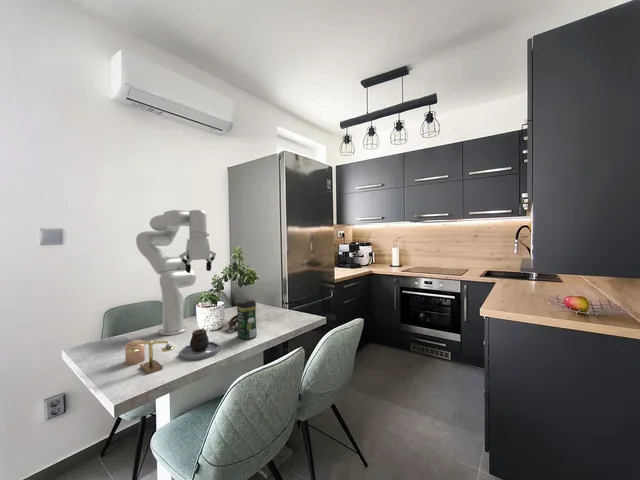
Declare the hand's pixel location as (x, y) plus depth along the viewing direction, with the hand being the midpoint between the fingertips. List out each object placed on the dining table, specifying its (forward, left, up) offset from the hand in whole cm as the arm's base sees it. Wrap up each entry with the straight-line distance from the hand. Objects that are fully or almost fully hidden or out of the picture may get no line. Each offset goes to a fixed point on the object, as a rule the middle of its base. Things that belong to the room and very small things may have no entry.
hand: (198, 271), depth 133 cm
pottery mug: (0, +21, -33) cm, 39 cm away
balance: (+16, -26, -32) cm, 44 cm away
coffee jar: (+15, +16, -32) cm, 39 cm away
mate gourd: (+16, -7, -32) cm, 36 cm away
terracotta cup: (+4, -28, -32) cm, 43 cm away
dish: (+16, -7, -32) cm, 37 cm away
